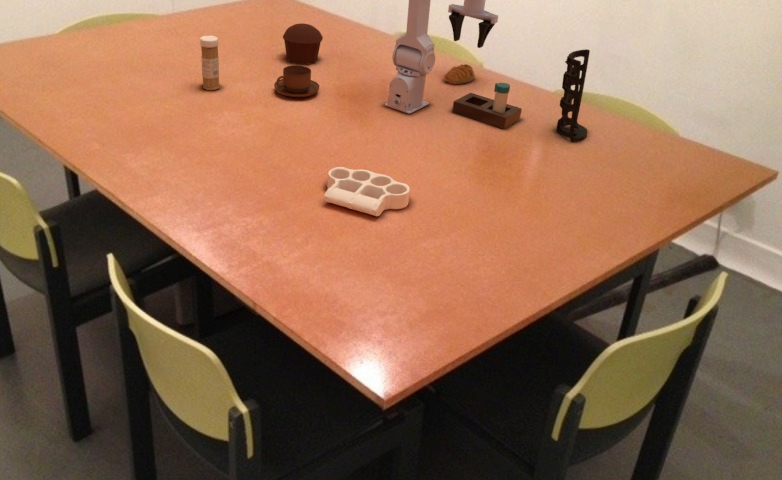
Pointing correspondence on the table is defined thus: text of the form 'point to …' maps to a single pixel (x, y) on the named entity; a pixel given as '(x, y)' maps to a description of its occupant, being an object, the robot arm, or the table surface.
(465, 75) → the pastry
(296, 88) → the cup and saucer
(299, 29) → the muffin
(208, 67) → the sprinkles bottle
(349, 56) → the table surface
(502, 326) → the table surface
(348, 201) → the knuckle duster
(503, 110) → the marker
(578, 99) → the holder
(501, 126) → the block
